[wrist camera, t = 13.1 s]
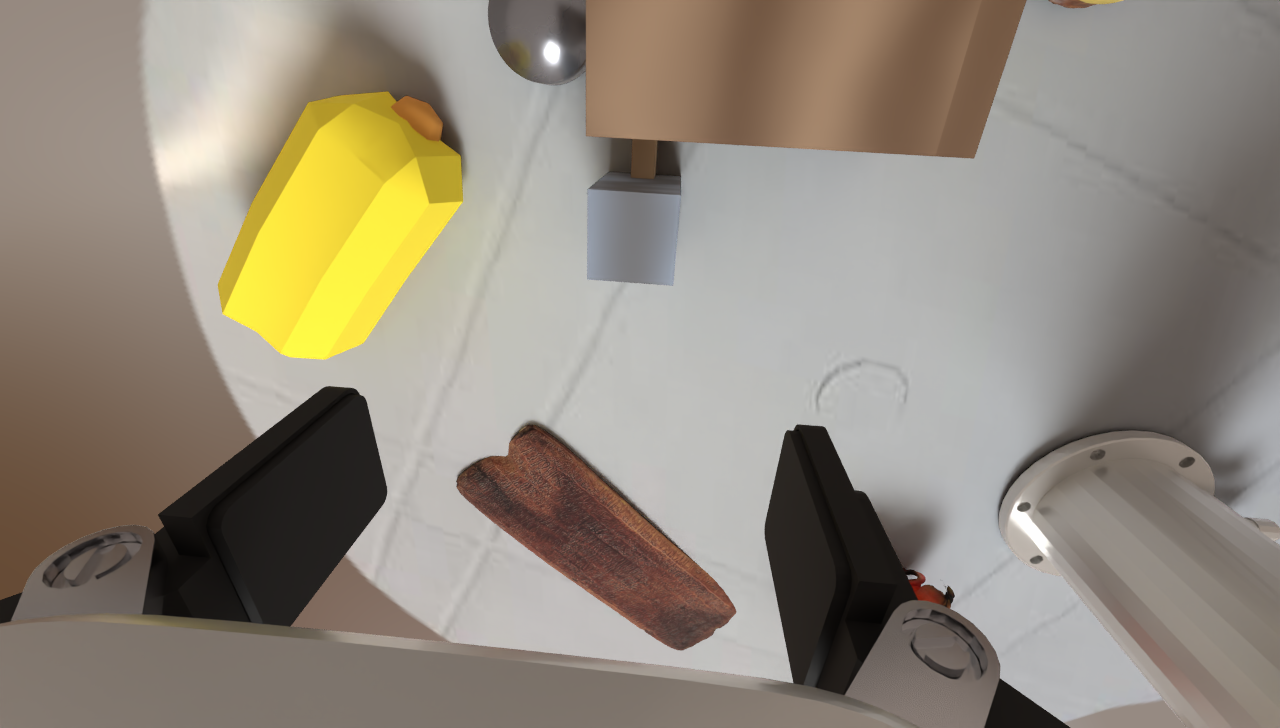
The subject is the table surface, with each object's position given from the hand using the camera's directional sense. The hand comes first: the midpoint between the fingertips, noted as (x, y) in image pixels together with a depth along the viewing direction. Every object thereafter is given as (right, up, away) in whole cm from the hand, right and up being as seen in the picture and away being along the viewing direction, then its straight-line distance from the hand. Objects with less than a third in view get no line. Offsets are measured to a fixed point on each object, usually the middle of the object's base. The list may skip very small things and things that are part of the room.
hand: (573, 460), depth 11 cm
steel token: (-3, +19, +14) cm, 24 cm away
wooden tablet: (-1, -13, +30) cm, 33 cm away
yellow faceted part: (-15, +11, +19) cm, 27 cm away
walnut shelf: (+7, +18, +13) cm, 24 cm away
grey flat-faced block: (+2, +15, +15) cm, 21 cm away
